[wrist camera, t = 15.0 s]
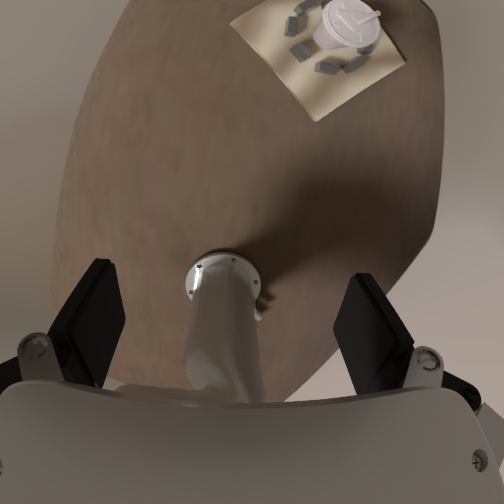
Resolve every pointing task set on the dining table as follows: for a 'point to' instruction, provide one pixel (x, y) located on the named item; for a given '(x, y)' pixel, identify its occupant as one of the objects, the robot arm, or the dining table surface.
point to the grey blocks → (304, 54)
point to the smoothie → (347, 25)
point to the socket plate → (302, 74)
